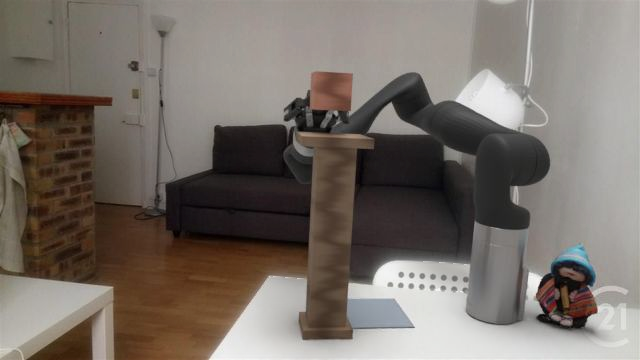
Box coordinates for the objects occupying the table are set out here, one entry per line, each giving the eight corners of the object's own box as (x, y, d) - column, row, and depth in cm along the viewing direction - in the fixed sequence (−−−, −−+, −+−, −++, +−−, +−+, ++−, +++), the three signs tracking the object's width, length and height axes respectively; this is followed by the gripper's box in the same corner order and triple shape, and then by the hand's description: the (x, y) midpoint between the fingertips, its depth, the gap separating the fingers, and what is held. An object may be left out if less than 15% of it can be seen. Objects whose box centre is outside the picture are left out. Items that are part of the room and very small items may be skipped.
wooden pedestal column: (348, 310, 90) (360, 134, 85) (361, 338, 79) (375, 139, 74) (288, 311, 88) (296, 131, 83) (293, 339, 78) (302, 136, 73)
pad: (394, 299, 96) (394, 298, 96) (414, 327, 84) (414, 326, 84) (338, 299, 94) (338, 298, 94) (351, 328, 83) (351, 327, 83)
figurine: (531, 326, 87) (541, 244, 85) (533, 311, 93) (543, 235, 91) (595, 340, 83) (608, 254, 80) (593, 324, 89) (605, 244, 87)
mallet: (333, 108, 97) (335, 77, 96) (350, 111, 80) (353, 73, 79) (302, 107, 96) (304, 75, 95) (314, 109, 79) (315, 71, 78)
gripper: (278, 116, 106) (285, 72, 90) (342, 119, 108) (360, 76, 92) (278, 148, 103) (285, 108, 87) (344, 150, 105) (362, 112, 89)
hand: (323, 92), depth 90 cm, fingers closed on mallet, 3 cm apart
